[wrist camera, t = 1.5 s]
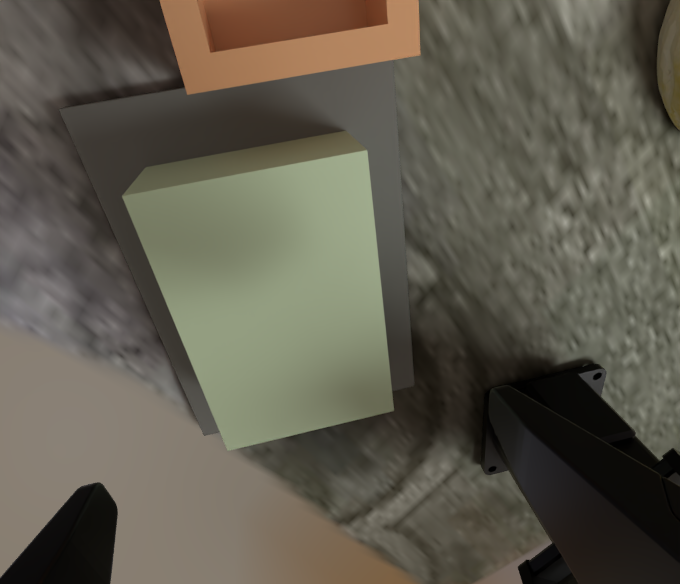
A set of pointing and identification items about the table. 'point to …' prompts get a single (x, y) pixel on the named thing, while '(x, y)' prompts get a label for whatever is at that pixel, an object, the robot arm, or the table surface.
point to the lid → (272, 282)
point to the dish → (285, 37)
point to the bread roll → (670, 61)
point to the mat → (242, 133)
